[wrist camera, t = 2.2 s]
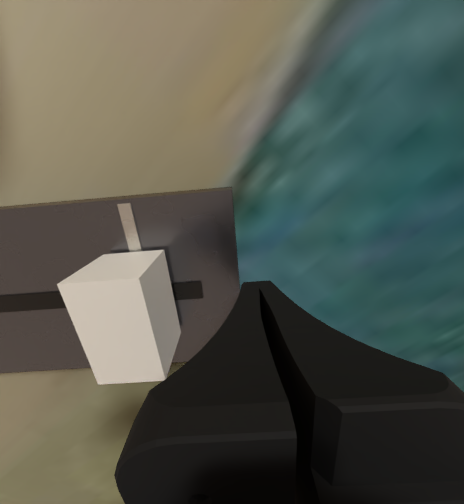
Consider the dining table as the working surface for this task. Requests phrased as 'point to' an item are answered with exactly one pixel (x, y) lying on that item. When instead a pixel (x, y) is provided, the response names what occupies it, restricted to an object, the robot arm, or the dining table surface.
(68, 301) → the fader
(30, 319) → the panel
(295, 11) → the dining table surface
